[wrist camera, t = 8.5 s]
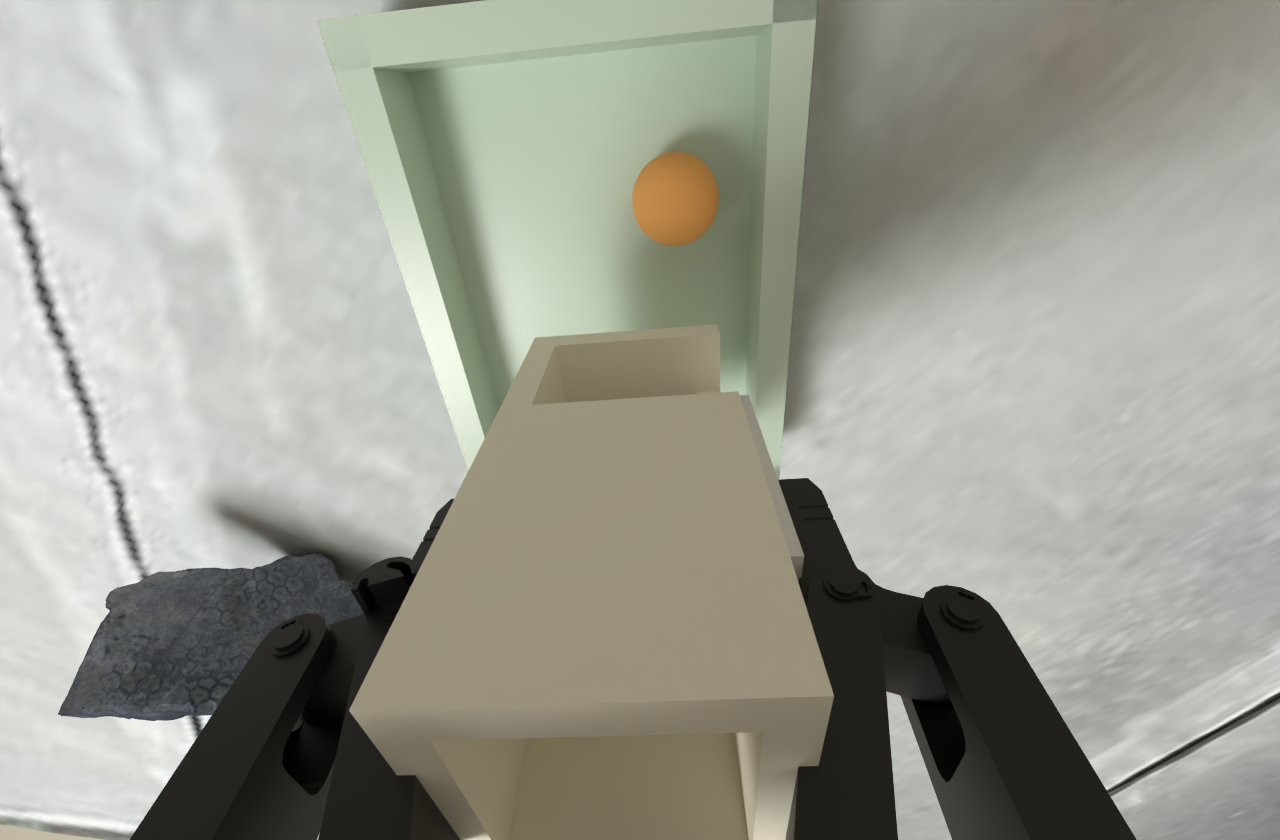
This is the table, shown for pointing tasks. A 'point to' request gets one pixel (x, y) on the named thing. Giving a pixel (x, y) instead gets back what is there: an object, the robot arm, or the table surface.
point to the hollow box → (607, 614)
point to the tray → (583, 177)
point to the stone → (195, 635)
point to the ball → (675, 198)
